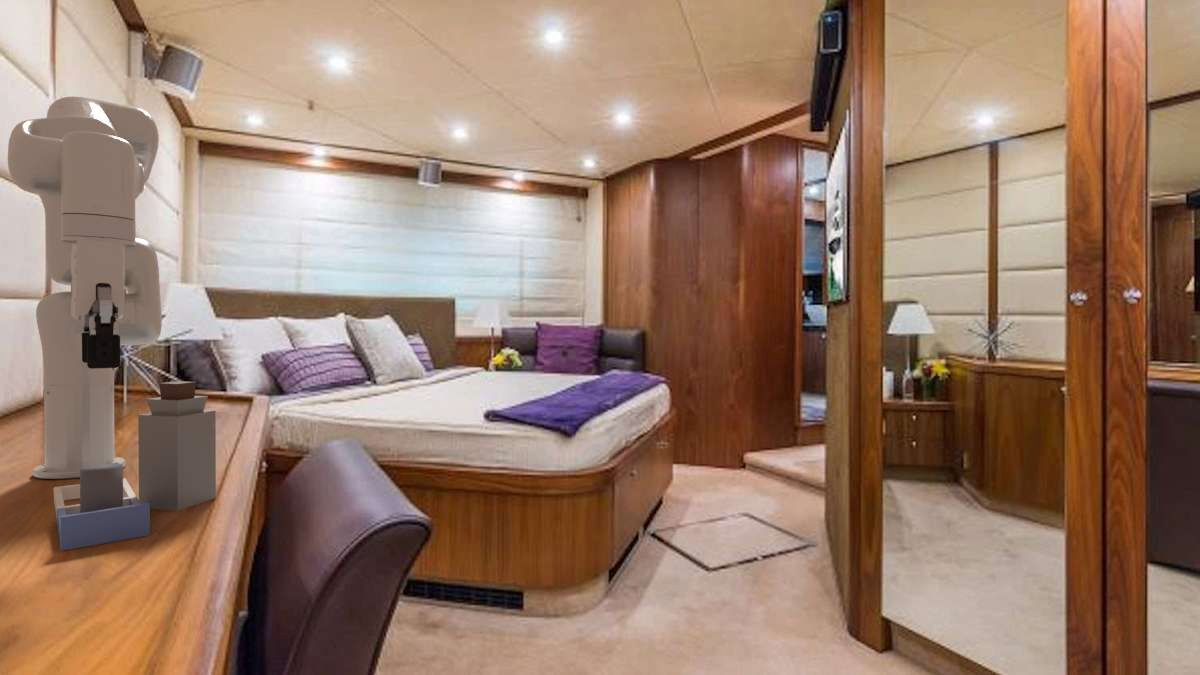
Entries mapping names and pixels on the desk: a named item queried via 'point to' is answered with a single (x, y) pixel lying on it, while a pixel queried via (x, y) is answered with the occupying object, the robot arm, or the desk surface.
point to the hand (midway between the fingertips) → (100, 364)
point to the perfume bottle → (177, 449)
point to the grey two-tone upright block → (101, 487)
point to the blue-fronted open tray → (99, 519)
